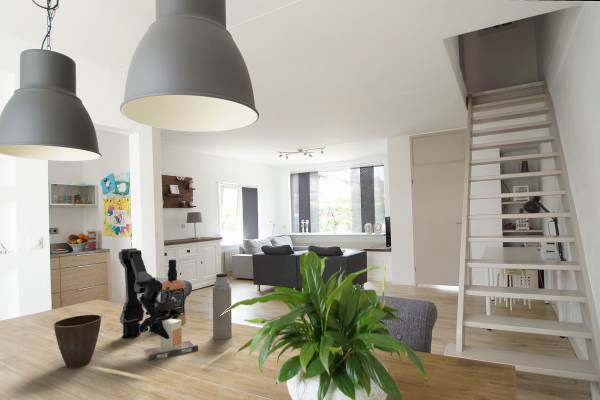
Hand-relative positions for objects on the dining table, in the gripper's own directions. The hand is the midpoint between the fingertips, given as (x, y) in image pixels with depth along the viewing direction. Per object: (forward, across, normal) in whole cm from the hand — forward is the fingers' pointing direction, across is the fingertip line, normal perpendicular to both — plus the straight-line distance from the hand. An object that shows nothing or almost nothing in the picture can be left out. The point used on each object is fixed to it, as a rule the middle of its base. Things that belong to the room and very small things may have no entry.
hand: (173, 336), depth 139 cm
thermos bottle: (+10, +21, 0) cm, 24 cm away
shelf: (+3, +1, +6) cm, 7 cm away
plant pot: (-14, -20, +24) cm, 34 cm away
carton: (+3, 0, +5) cm, 6 cm away
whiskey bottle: (-16, +31, +26) cm, 43 cm away
